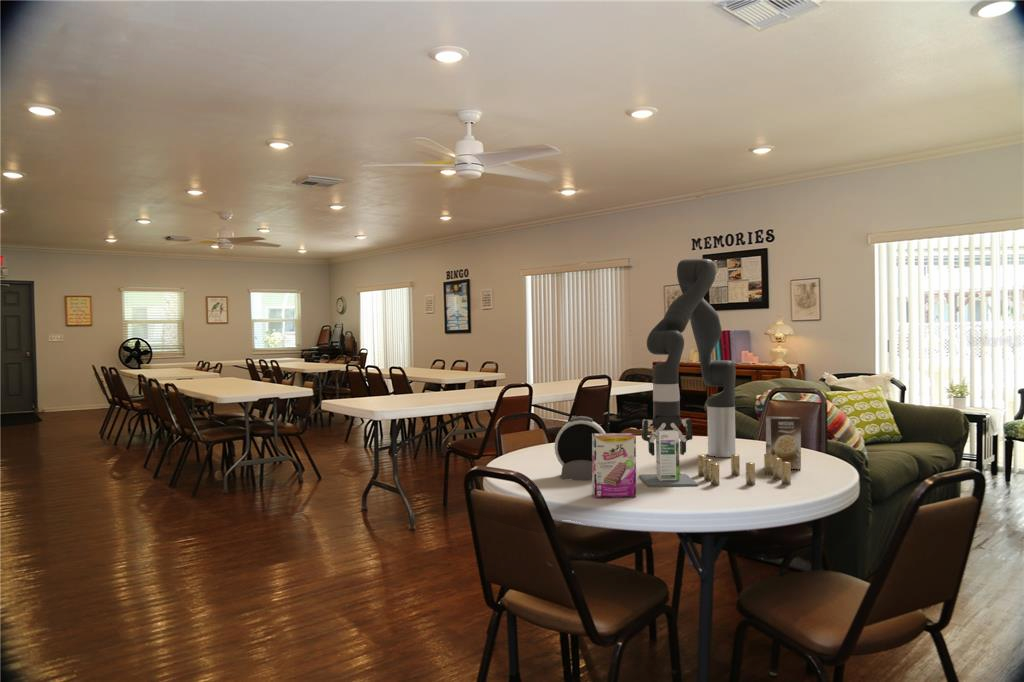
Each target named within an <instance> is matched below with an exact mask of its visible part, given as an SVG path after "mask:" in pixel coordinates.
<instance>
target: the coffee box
mask: <svg viewBox="0 0 1024 682" xmlns="http://www.w3.org/2000/svg"><path fill="white" fill-rule="evenodd" d="M765 454H772V455H773V458H781V462H790V466H791V469H798V470H797V471H800V470H799V469H801V470H802V418H800V417H796V416H775V415H774V416H769V415H768V416H767V415H766V416H765Z"/></svg>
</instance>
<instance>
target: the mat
mask: <svg viewBox="0 0 1024 682" xmlns="http://www.w3.org/2000/svg"><path fill="white" fill-rule="evenodd" d="M638 478H640V479H641V480H642V482H643V483H644V482H645V483H646V484H647V485H648V486H670V487H699V483H698V482H697V481H695V480H694V479H692V477H690V476H689V475H687V474H686V473H680V480H679V481H660V480H659V479H658V478H657V473H655V474H651V473H650V474H645V473H644V474H638ZM645 483H644V484H645ZM646 484H645V485H646ZM647 485H646V486H647ZM648 486H647V487H648Z"/></svg>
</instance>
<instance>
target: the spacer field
mask: <svg viewBox="0 0 1024 682" xmlns="http://www.w3.org/2000/svg"><path fill="white" fill-rule="evenodd" d="M763 461H764V463H763V466H764V475H765V474H767V475H766V476H772V480H774V479H781V485H784V484H790V485H791V484H792V481H791V479H792V477H791V472H792V470H791V466H790V462H781V458H773V455H772V454H766V453H765V454H764V456H763ZM730 462H731V463H730V468H731V469H730V474H731V476H733V475H735V476H736V475H739V476H740V475H741V473H740V454H732V455H731V457H730ZM772 474H773V475H772ZM698 475H699V476H698ZM697 476H698V477H703V480H704V481H705V480H711V481H710V486H712V485H719V486H720V463H717V462H713V459H712V458H707V455H706V454H698V455H697ZM735 476H734V477H735ZM736 477H737V476H736ZM745 484H747V486H756V463H755V462H745Z"/></svg>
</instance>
